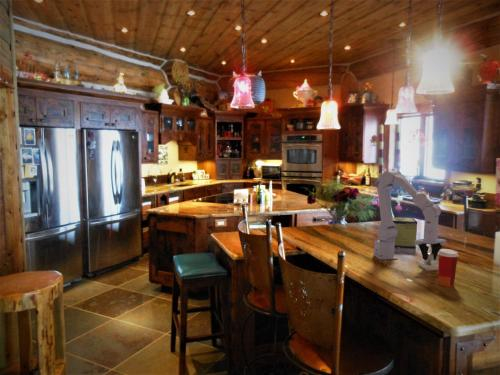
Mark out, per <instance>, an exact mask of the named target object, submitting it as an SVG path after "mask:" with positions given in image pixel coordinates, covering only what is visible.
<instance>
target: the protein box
mask: <svg viewBox="0 0 500 375" xmlns="http://www.w3.org/2000/svg"><path fill="white" fill-rule="evenodd" d="M392 221H393V222H394V223H395V226H396V229H397V230H398V235H397V237H396V238H395V248H396V249H409V250H410V249H411V250H416V248H417V245H416V244H415V240H417V235H418V234H417V232H418V221H417V220H416V219H415V218H413V217H394V216H392Z"/></svg>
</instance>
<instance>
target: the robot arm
mask: <svg viewBox="0 0 500 375" xmlns="http://www.w3.org/2000/svg"><path fill="white" fill-rule="evenodd" d="M394 186H398V187H401V189H402V190H404V191H405V192H406V193H407V194H408V195H409V196H411V197H412V202H413V203H414V204H415V205H416V206H417V207H418V208H419V209H420V210H421V211H422V214H423V216H424V222H423V223H424V224H423V226H424V228H423V238H421V239H416V240H415V244H416V246H417V247H419V248H418V249H419V250H420V253H421V255H422V256H421V257H422V260H423V261H424V260H427V253H428V252H429V248H430V247H431V248H430V249H431V252H432V253H433V254H434V260H436V257H437V254H438V252H439V250H440V249H443V245H446V244H447V243H446V242H447V240H446V239H444V238H438V235H439V234H438V231H439V216H440V215H441V213H442V209H441V207H440V205H438V204H437V203H435V202H434V201H431V199H430V198H428V196H427V194H426V193H423V192H419V191H418V190H417V189H416V188H415V187H414V186H413V185H412V184H411V183H410V182H409V181H408V179H407V178H406V177H405V175H404V174H402V173H401V172H400V171H399V170H391V171H388V170H387V171H384V172H383V173H382V174H380V176H379V183H378V184H377V195H378V205H379V213H380V214H379V216H380V222H379V224H378V229H377V233H376V235H377V237H378V240H375V241H374V245H373V246H374V247H373V254H372V255H373V257H375V258H377V259H378V260H398V259H399V258H398V257H396V256H395V238H396V237H397V235H398V230H397V229H396V226H395V223H394V222H393V221H392V217H393V213H392V212H393V211H392V203H391V195H390V190H391V189H392V188H393V187H394ZM429 245H430V246H429Z"/></svg>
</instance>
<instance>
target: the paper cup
mask: <svg viewBox="0 0 500 375" xmlns="http://www.w3.org/2000/svg"><path fill="white" fill-rule="evenodd" d="M459 255H460V254H458V251H457V250H453V249H449V248H448V249H447V248H441V249H440V250H439V252H438V270H437V272H438V275H437V276H438V284H439V285H440V286H442V287H446V288H452V287H454V285H455V279H456V278H455V277H456V272H457V264H458V263H457V262H458V258H459V257H460V256H459Z"/></svg>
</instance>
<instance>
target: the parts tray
mask: <svg viewBox="0 0 500 375" xmlns="http://www.w3.org/2000/svg"><path fill="white" fill-rule="evenodd" d="M417 264H418V265H417V266H418V267H420V268H422V269H423V270H425V271H438V260H437V261H434V263H433V265H426V264H424V260H419V261H418V262H417Z"/></svg>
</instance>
